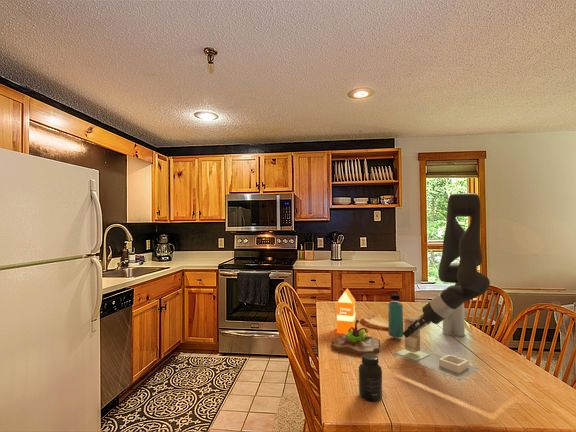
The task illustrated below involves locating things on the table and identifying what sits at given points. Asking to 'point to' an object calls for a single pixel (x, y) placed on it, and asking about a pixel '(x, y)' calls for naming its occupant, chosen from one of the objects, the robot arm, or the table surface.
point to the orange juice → (345, 312)
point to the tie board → (439, 363)
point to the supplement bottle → (370, 378)
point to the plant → (356, 342)
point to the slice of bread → (376, 322)
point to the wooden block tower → (412, 337)
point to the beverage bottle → (395, 317)
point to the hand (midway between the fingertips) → (407, 333)
